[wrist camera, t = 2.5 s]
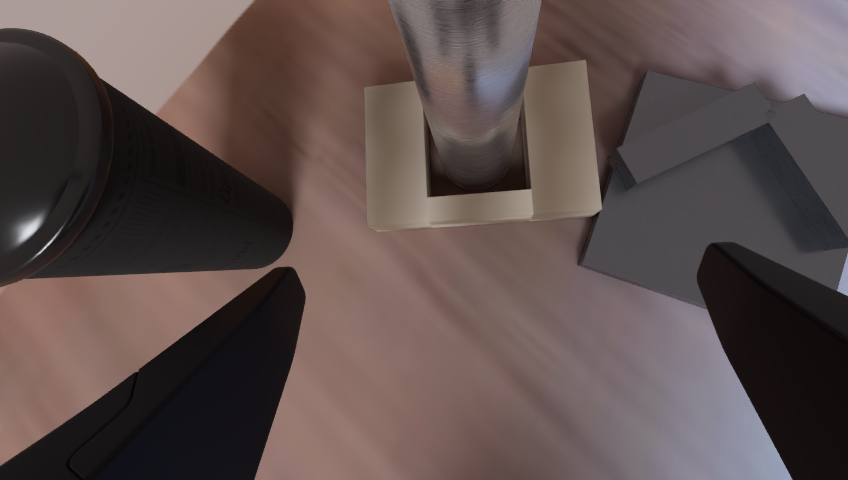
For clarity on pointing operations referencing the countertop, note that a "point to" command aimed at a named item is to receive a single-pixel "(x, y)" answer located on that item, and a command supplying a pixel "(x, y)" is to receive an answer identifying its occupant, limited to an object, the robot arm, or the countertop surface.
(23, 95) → the drinking cup
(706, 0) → the countertop surface
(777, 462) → the countertop surface
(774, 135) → the v block
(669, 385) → the countertop surface
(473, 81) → the axle
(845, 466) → the robot arm
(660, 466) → the countertop surface
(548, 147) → the beige rectangular frame
